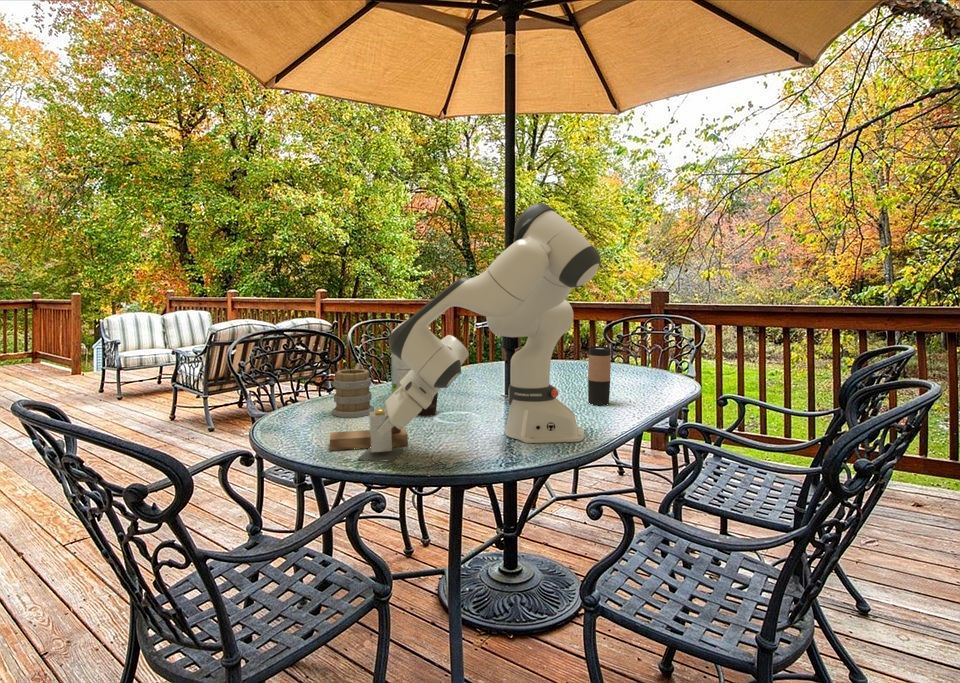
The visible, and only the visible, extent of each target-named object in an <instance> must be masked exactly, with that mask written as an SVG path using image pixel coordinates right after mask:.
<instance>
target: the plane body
mask: <svg viewBox="0 0 960 683" xmlns="http://www.w3.org/2000/svg"><path fill="white" fill-rule="evenodd" d="M329 435H330V436H329V451H330V450H339V451H343V450H342V449H353V450H357V449H356V448H368V449H369V448H370V447H371V446H370V429H367V430H349V431H347V430H346V431H334V432H330V434H329ZM391 436H392V446H396V447H406V445H409V442H408V438H409V437H408V432H407V430H406V427H403V428H402V429H398V428H397V427H396V426H394V427H393V428H391ZM354 448H355V449H354Z"/></svg>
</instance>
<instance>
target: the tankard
mask: <svg viewBox="0 0 960 683" xmlns="http://www.w3.org/2000/svg"><path fill="white" fill-rule="evenodd" d="M362 367H363V366H362V364H361V363H360V362H357V363H356V365H355V367H354V368H351V369H350V368H348V369H339V370H337V371H336V372H335V373H334V374H335V379H334V380H333V388H335V393H334V394H333V401H334V402H335V403H336V404H335V407H333V409H332V410H331V415H332V416H335V417H338V418H341V419H345V418H346V419H347V418H352V419H355V418H358V419H359V418H361V417H367V416H370V414H369V412H375V406H374V405H371V403H370V402H371V400H372V392H371V391H370V386H371V385H372V378H371V377H370V370H368V369H362Z"/></svg>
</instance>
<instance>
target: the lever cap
mask: <svg viewBox="0 0 960 683" xmlns="http://www.w3.org/2000/svg"><path fill="white" fill-rule="evenodd" d="M385 410H386V408H374V411H373V412H369V414H370V415H369V430H370V446H371V452H383V451H392V448H393V447H392V436H391V429H390V430H388V431H387V432H386V433H385V434H384V435H382V436H381V435H380V434H379V433H378V432H377V429H378V428H379V427H380V426H381V425H383V424H384V423H385V422H386V420H387V419H388V418H389V417H388V414H387V411H385Z"/></svg>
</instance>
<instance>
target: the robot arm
mask: <svg viewBox="0 0 960 683" xmlns="http://www.w3.org/2000/svg"><path fill="white" fill-rule="evenodd" d="M513 235H514V236H513V239H512V240H513V243H512V244H510V245H509V246H508V247H506V249H505V250H503V251H502V252H501V253H500V254H499V255H498V256H497V257H496V258H495V259H494V260H493V261H492V262H491V264H489V266H487V268H486V269H485V270H484V271H483V272H481V273H480V274H479V275H476V276H473V277H469V276H463V277H461V278H459V279H457V280H455V281H453V282H452V283H451V284H450V285H448V286H447V287H446V288H445V289H443V290H442V291H440V293H438V294H437V295H436V296H434V297H433V298H432V299H431V300H430V301H429V302H427V303H426V304H425V305H424V306H423V307H422V308H420V309H419V310H418V311H416V313H414V314H413V315H412V316H411V317H409V318H408V319H406V320H404V321H402V322H401V323H400V324H398V325H397V326H395V328H394V330H393V329H392V330H393V331H392V330H391V331H392V332H391V333H390V335H389V337H388V340H389V344H388V345H389V349H390V352H391V354H392V353H393V354H394V355H396V356H397V357H398V358H400V359H401V360H403V361H404V362H405V363H406V364H407V365H408V366H409V367H410V368H411V370H410V371H409V372H408V373H407V374H406V375H405V377H404V378H403V379H402V380H401V381H400V382H399V383H400V384H401V385H402V386H400V387H399V388H398V389H397V390H396V391H395V392H394V393H393V394H392V393H391V395H389V397H388V398H387V399H386V400H385V401H384V403H383V404H384V409H385V411H387V414H388V417H389V418H388V419H387V420H386V422H385V423H384V424H383V425H381V426H380V427H379V428H378V429H377V432H378V433H379V434H380V435H381V436H382V435H384V434H385V433H386V432H387V431H388V430H390V429H391V428H393V427H394V426H396V427H397V428H398V429H402V428H406V426H407V425H408V424H410V423H411V422H412V421H413V420H414V419H415V418H416V417H417V416H419V415H418V414H419V413H420V412H421V410H422V407H423V408H424V409H426V408H427V407H428V406H429V405H430V404H431V400H432V398H433V397H434V396H435V394H436V393H437V392H438V393H439V391H440V389H448V388H449V387H450V385H451V384H452V383H453V382H454V381H455V380H456V379H457V378H458V377H459V376H460V375H461V374H462V366H463V364H464V363H465V361H466V360H467V359H468V357H469V350H468V348H467V347H466V346H465V344H464V343H463V342H462V341H461V340H459V338H457V337H455V336H454V335H451V334H448V335H445V337H443V338H441V339H440V338H439V337H438V336H436V335H435V333H433V332H432V331H431V329H430V324H431V323H433V322H434V321H435V320H436V319H437V318H439V317H440V316H441V315H442V314H444V313H445V312H446V311H448V309H449V308H452V307H453V308H454V307H458V308H462V309H466V310H469V311H471V312H474V313H476V314H478V315H480V316H484V317H485V318H486V324H487V326H488V329H489V331H490V332H491V333H492V334H493V335H496V336H499V337H506V338H526V337H527V339H526V340H527V341H526V343H525V344H524V346H523V347H522V348H520V349H519V350H517V351H516V352H515V353H513V355H512V356H511V358H510V376H509V377H510V384H509V385H508V390H507V391H508V398H507V399H508V400H507V401H508V405H509V408H508V409H509V410H508V415H507V422H506V425H505V428H504V429H505V430H504V435H505V436H507V437H509V438H511V439H515V440H518V441H521V442H523V443H525V444H534V443H535V444H536V443H537V444H539V443H542V444H543V443H577V442H580V441H583V440H584V439H585V431H584V429H583V428H582V427H581V426H578V424H577V420H576V416H575V414H574V411H573V410H572V409H571V408H569V407H568V406H566V405H565V404H564V403H563V402H562V401H560V399H558V396H559V390H558V388H556V386H553V385H552V384H550V383H551V382H550V379H551V378H550V374H551V363H552V355H553V353H554V351H555V350H554V349H555V348H556V345H557V344H558V342H559V340H561V338H562V336H563V335H564V334H566V332H568V331H569V330H570V329H571V326H572V325H573V322H574V315H575V314H574V310H573V307H572V305H571V304H570V303H569V301H568V300H566V299H567V298H568V296H569V295H570V293H571V291H572V290H573V288H580V287H582V286H583V285H585V284H587V283H588V282H590V281H591V280H592V279H593V278H594V277H595V275H596V274H597V272H598V270H599V269H600V267H601V265H602V264H601V262H602V261H601V255H600V253H599V252H598V250H597V248H595V246H594V245H592V244H591V243H590V242H589V241H588V239H587V238H586V237H585V236H584V235H583V234H582V233H581V232H580V231H579V230H578V229H577V228H576V227H575V226H573V225H572V224H571V223H570V222H569V221H568V220H566V219H565V218H564V217H562V216H561V215H560V214H558V213H557V212H556V211H555V209H554V208H552V207H551V206H549V205H548V204H546V203H543V202H539V203H538V202H537V203H533V204H531V205H530V206H529V207H527V208H525V210H524V211H523V212H521V214H520V215H519V217H518V218H517V220H516V222H515V225H514V230H513Z"/></svg>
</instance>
